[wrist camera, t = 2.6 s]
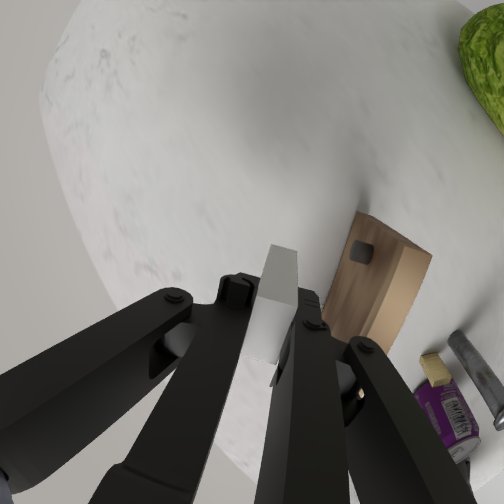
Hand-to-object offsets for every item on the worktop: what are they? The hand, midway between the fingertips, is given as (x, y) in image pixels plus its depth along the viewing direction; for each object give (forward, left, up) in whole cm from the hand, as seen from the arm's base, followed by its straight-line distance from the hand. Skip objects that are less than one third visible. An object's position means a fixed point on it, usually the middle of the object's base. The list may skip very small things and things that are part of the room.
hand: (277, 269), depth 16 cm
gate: (-6, -4, -10) cm, 12 cm away
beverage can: (-24, -20, -11) cm, 33 cm away
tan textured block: (-17, -17, -11) cm, 26 cm away
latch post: (-15, -21, -11) cm, 28 cm away
